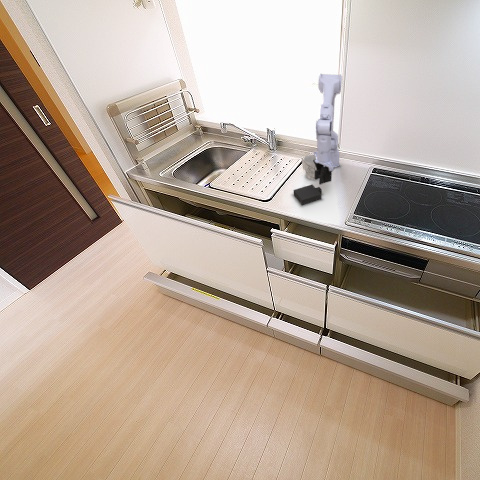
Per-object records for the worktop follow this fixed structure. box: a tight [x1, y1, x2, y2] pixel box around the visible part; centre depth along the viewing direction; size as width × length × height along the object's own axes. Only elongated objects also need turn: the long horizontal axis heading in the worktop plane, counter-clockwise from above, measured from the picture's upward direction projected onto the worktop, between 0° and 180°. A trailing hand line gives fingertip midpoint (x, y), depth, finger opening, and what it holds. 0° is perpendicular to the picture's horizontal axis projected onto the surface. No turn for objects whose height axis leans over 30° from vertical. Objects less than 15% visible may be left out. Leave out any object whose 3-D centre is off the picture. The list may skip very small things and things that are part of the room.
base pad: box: [293, 184, 323, 206], centre depth 121 cm, size 12×9×3 cm
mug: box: [301, 154, 317, 181], centre depth 132 cm, size 11×8×10 cm
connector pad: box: [314, 169, 333, 185], centre depth 118 cm, size 6×5×4 cm
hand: (323, 177), depth 119 cm, fingers closed on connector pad, 5 cm apart
